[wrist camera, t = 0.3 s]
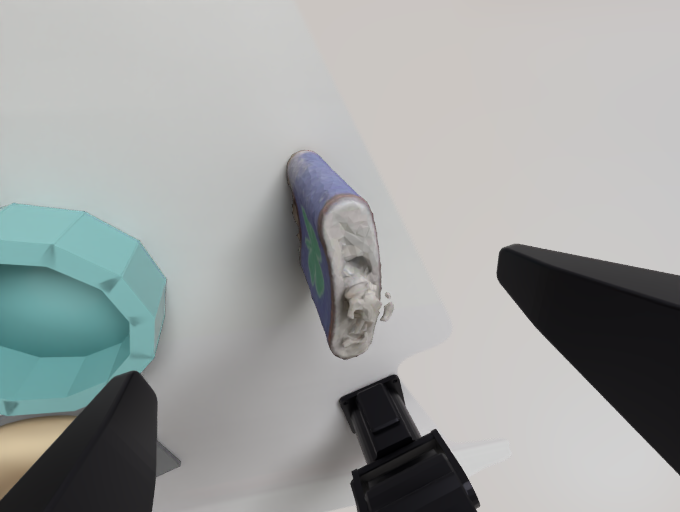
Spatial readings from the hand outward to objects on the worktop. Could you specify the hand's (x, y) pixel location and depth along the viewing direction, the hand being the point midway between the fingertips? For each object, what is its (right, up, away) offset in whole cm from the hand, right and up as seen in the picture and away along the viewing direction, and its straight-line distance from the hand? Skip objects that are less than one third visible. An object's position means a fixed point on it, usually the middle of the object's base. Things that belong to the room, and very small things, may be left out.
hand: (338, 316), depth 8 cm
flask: (-2, +4, +15) cm, 15 cm away
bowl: (-17, -1, +12) cm, 21 cm away
